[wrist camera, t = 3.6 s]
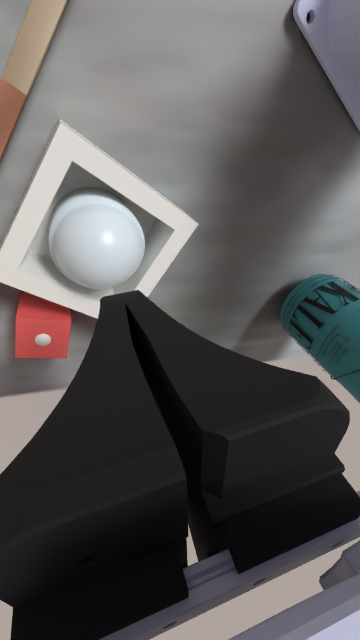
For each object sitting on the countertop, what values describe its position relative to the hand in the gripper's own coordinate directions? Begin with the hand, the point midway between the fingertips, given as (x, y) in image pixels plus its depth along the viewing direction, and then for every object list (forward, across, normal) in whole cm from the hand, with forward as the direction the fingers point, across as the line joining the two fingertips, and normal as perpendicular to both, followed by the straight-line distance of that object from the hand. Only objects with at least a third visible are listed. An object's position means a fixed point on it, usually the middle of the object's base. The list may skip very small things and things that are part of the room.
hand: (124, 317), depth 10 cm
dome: (+10, 0, 0) cm, 10 cm away
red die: (+10, +5, +6) cm, 13 cm away
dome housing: (+10, 0, 0) cm, 10 cm away
